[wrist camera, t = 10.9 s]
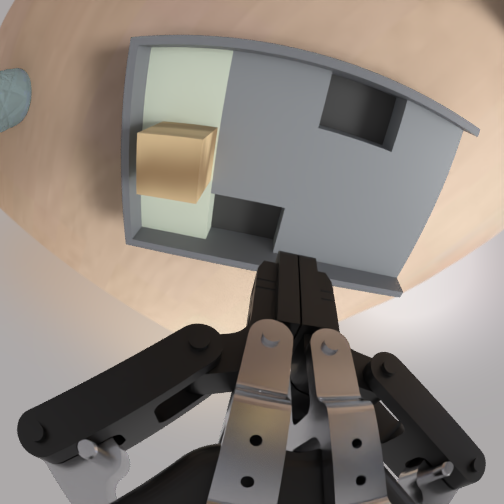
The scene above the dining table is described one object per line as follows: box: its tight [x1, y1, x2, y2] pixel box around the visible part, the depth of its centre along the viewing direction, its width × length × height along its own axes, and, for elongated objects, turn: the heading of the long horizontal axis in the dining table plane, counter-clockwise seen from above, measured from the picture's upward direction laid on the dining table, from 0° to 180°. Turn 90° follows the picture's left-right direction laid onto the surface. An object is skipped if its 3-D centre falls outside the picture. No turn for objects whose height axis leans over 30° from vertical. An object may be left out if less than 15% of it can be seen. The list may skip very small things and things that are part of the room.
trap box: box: [121, 35, 480, 297], centre depth 23 cm, size 20×30×6 cm, turn 80°
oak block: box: [136, 121, 218, 204], centre depth 21 cm, size 5×5×5 cm
